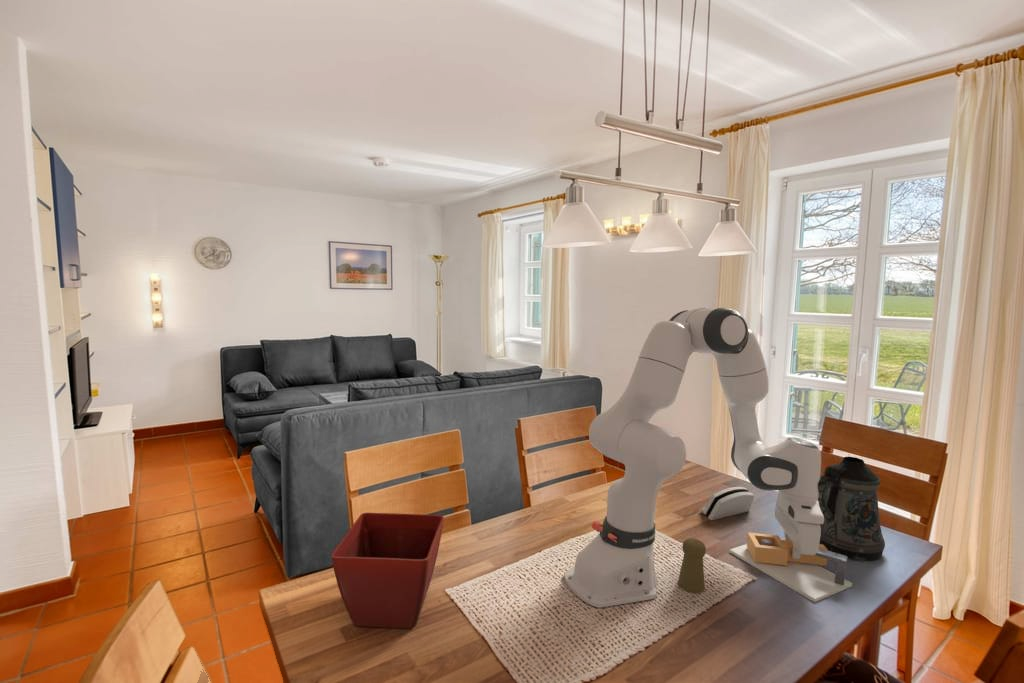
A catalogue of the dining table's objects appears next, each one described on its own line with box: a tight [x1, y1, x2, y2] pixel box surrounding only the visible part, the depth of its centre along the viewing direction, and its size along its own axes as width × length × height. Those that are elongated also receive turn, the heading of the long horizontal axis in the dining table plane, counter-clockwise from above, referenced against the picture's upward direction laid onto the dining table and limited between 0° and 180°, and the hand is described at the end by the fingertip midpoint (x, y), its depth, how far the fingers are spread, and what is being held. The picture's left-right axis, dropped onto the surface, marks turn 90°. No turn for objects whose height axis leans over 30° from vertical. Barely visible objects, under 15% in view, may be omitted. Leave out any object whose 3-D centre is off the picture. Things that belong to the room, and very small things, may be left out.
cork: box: [677, 538, 707, 594], centre depth 117 cm, size 6×6×11 cm
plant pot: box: [331, 512, 445, 629], centre depth 105 cm, size 19×19×17 cm
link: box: [746, 532, 828, 566], centre depth 128 cm, size 18×8×4 cm, turn 79°
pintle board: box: [729, 539, 853, 603], centre depth 125 cm, size 14×23×5 cm, turn 27°
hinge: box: [699, 486, 755, 521], centre depth 155 cm, size 17×5×10 cm, turn 115°
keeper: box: [816, 548, 848, 586], centre depth 120 cm, size 7×3×7 cm, turn 52°
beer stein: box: [818, 456, 886, 562], centre depth 135 cm, size 16×19×25 cm
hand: (792, 552), depth 128 cm, fingers closed on link, 3 cm apart
